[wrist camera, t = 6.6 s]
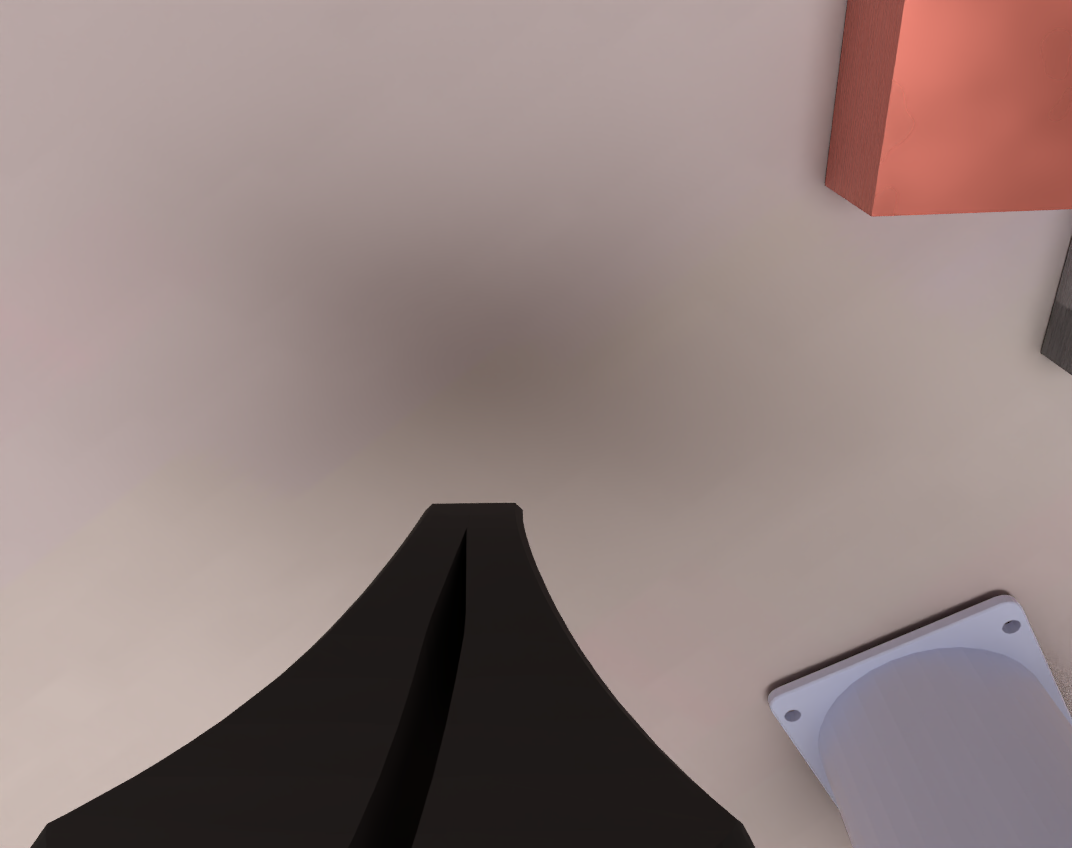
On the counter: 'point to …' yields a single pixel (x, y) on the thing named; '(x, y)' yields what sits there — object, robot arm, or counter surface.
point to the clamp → (958, 116)
